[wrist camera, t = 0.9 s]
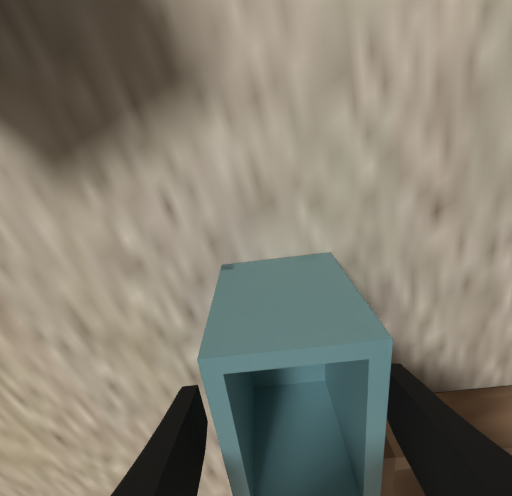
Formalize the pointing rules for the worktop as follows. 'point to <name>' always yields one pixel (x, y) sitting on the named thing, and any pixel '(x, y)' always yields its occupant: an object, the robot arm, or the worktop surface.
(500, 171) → the worktop surface
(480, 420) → the walnut crate
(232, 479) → the teal crate
